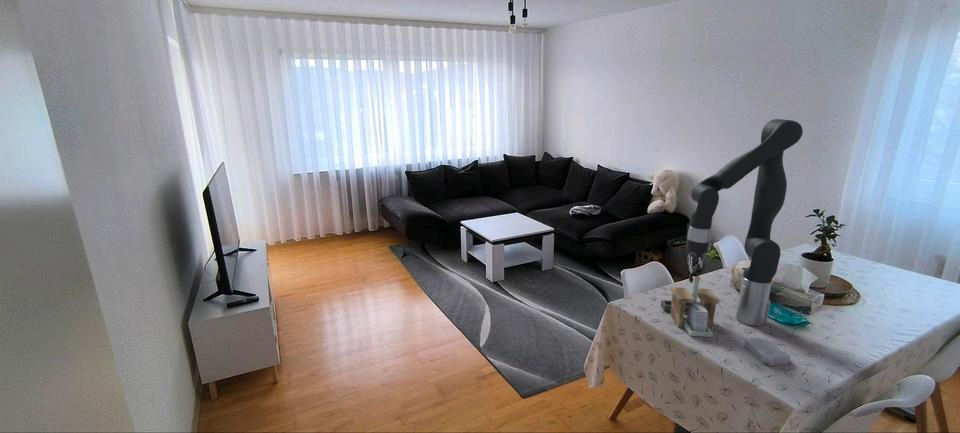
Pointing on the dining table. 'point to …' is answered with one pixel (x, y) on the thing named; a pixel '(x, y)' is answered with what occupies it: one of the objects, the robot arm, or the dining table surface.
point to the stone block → (766, 351)
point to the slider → (691, 333)
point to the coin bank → (739, 273)
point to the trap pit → (667, 304)
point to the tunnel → (684, 296)
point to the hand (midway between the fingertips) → (692, 281)
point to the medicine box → (697, 317)
